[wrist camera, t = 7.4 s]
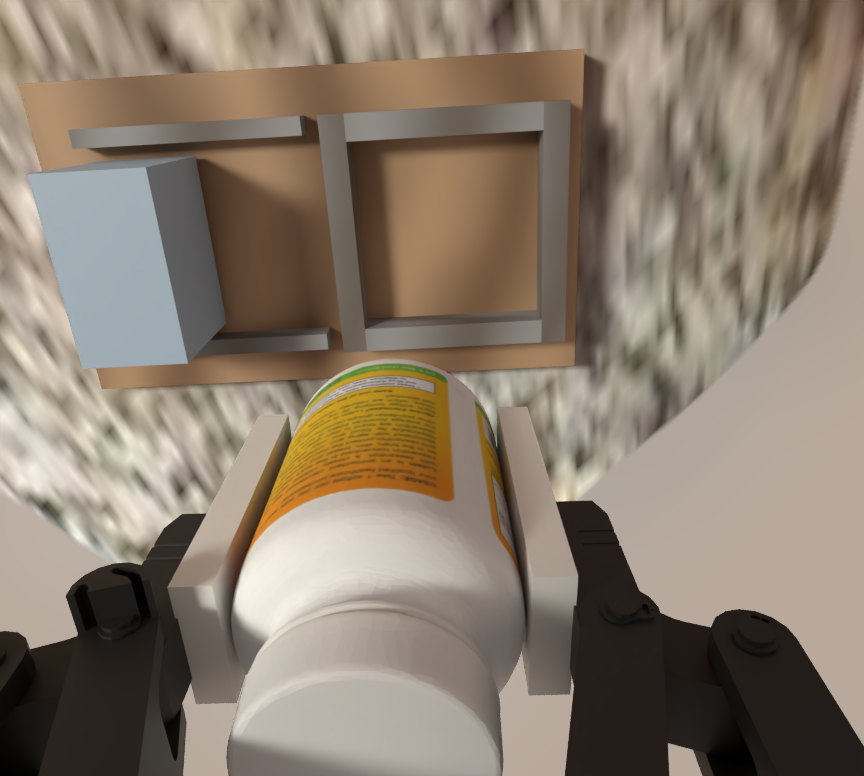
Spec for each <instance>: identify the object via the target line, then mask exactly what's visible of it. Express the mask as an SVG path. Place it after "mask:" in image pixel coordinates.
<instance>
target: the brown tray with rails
mask: <svg viewBox="0 0 864 776" xmlns="http://www.w3.org/2000/svg"><path fill="white" fill-rule="evenodd" d="M583 78H584V49H573V50H557V51H541V52H525V53H509V54H493V55H476V56H460V57H444V58H428V59H412V60H396V61H380V62H364V63H348V64H331V65H315V66H299V67H283V68H267V69H251V70H235V71H219V72H202V73H186V74H170V75H154V76H138V77H122V78H106V79H90V80H74V81H57V82H41V83H25V84H18V85H19V89H20V92H21V96H22V100H23V103H24V107H25V111H26V114H27V118H28V122H29V125H30V129H31V132H32V136H33V140H34V143H35V147H36V151H37V154H38V158H39V162H40V165H41V169H42V172H43V171H48V170H54V169H60V168H65V167H71V166H76V165H82V164H87V163H93V162H101V161H118V160H135V159H152V158H169V157H186V156H196V161H197V167H198V172H199V177H200V183H201V188H202V194H203V199H204V204H205V210H206V215H207V221H208V226H209V231H210V237H211V242H212V247H213V253H214V258H215V264H216V269H217V274H218V280H219V285H220V290H221V296H222V301H223V307H224V312H225V317H226V324H225V325H224V326H223V327H222V328H221V329H220V330H219V331H218V332H217V333H216V334H215V335H214V336H213V337H212V339H211V340H210V341H209V342H208V343H207V344H206V345H205V346H204V347H203V348H202V349H201V350H200V351H199V352H198V353H197V354H196V356H195V357H194V358H193V359H192V360H191V361H190V362H189V363H188V364H169V365H149V366H129V367H109V368H96V369H97V373H98V376H99V380H100V384H101V387H102V389H115V388H135V387H155V386H175V385H195V384H215V383H235V382H255V381H275V380H295V379H316V378H333V377H335V376H336V375H338V374H339V373H341V372H343V371H344V370H346V369H348V368H350V367H353V366H355V365H358V364H361V363H364V362H368V361H373V360H380V359H406V360H413V361H418V362H422V363H426V364H429V365H432V366H434V367H437V368H439V369H441V370H443V371H445V372H456V371H476V370H496V369H516V368H536V367H556V366H574V363H575V332H576V300H577V268H578V237H579V205H580V173H581V142H582V110H583Z"/></svg>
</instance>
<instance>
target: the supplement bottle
mask: <svg viewBox="0 0 864 776" xmlns="http://www.w3.org/2000/svg"><path fill="white" fill-rule="evenodd" d="M525 623H526V617H525V604H524V594H523V587H522V582H521V577H520V571H519V565H518V560H517V555H516V550H515V545H514V539H513V534H512V528H511V523H510V516H509V511H508V506H507V501H506V495H505V490H504V485H503V479H502V473H501V468H500V463H499V457H498V451H497V446H496V442H495V437H494V433H493V430H492V427H491V424H490V421H489V418H488V416H487V414H486V412H485V410H484V408H483V406H482V405H481V403H480V402H479V400H478V399H477V397H476V396H475V395H474V394H473V393H472V391H471V390H470V389H469V388H467V387H466V386H465V385H464V384H463V383H462V382H461V381H459V380H458V379H457V378H455V377H454V376H452V375H451V374H449V373H447V372H445V371H443V370H441V369H439V368H437V367H434V366H432V365H429V364H426V363H422V362H418V361H413V360H406V359H380V360H373V361H368V362H364V363H361V364H358V365H355V366H353V367H350V368H348V369H346V370H344V371H343V372H341V373H339V374H338V375H336V376H335V377H333V378H332V379H330V380H329V381H328V382H327V383H325V384H324V385H323V386H322V387H321V388H320V389H319V390H318V391H317V392H316V393H315V395H314V396H313V397H312V399H311V400H310V402H309V403H308V405H307V406H306V408H305V410H304V412H303V414H302V416H301V418H300V420H299V422H298V424H297V427H296V429H295V432H294V434H293V437H292V439H291V442H290V445H289V448H288V450H287V453H286V455H285V458H284V461H283V463H282V466H281V468H280V471H279V473H278V476H277V479H276V481H275V484H274V487H273V489H272V492H271V494H270V497H269V499H268V502H267V504H266V507H265V509H264V512H263V515H262V517H261V520H260V522H259V525H258V527H257V529H256V532H255V534H254V537H253V539H252V542H251V544H250V547H249V550H248V552H247V555H246V557H245V560H244V562H243V565H242V568H241V571H240V575H239V578H238V581H237V584H236V588H235V592H234V597H233V602H232V611H231V628H232V636H233V641H234V645H235V649H236V653H237V656H238V659H239V662H240V664H241V666H242V668H243V670H244V671H245V673H246V675H247V677H246V679H245V682H244V685H243V689H242V692H241V696H240V700H239V704H238V707H237V711H236V715H235V718H234V722H233V726H232V729H231V733H230V736H229V740H228V746H227V768H228V774H229V776H502V772H503V750H502V735H501V722H500V701H499V693H500V692H501V690H502V689H503V688H504V686H505V685H506V683H507V682H508V680H509V678H510V676H511V674H512V672H513V670H514V668H515V666H516V664H517V662H518V659H519V657H520V654H521V650H522V646H523V642H524V635H525Z"/></svg>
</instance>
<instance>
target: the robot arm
mask: <svg viewBox="0 0 864 776" xmlns="http://www.w3.org/2000/svg"><path fill="white" fill-rule="evenodd" d="M291 439H292V438H291V430H290V423H289V416H288V414H280V415H259V416H258V418H257V420H256V422H255V424H254V426H253V428H252V430H251V431H250V433H249V435H248V437H247V439H246V441H245V443H244V445H243V446H242V448H241V450H240V452H239V454H238V456H237V458H236V460H235V461H234V463H233V465H232V467H231V469H230V471H229V473H228V475H227V476H226V478H225V480H224V482H223V484H222V486H221V488H220V490H219V492H218V493H217V495H216V497H215V499H214V501H213V503H212V505H211V507H210V508H209V510H208V512H207V514H182V515H180V516H179V517H178V518H177V519H175V520H174V521H173V522H172V523H170V524H169V525H168V526H167V527H165V528H164V529H163V531H162V533H161V534H160V536H159V538H158V539H157V541H156V543H155V544H154V548H152V549H151V551H150V552H149V554H148V556H147V557H146V558H147V559H146V561H144V562H143V564H142V565H138V564H133V563H116V564H111V565H108V566H105V567H101V568H98V569H96V570H94V571H92V572H90V573H88V574H86V575H84V576H83V577H82V578H80V579H79V580H78V581H77V582H76V583H75V584H73V585H72V587H71V588H70V590H69V592H68V593H67V595H66V598H67V601H68V604H69V607H70V610H71V613H72V616H73V620H74V622H75V626H76V629H77V632H78V636H77V637H74V638H71V639H68V640H65V641H61V642H57V643H53V644H49V645H45V646H41V647H38V648H34V649H30V648H29V645H28V643H27V640H26V638H25V637H23V636H22V635H21V634H19V633H17V632H7V631H3V632H0V776H183V767H184V752H185V736H186V718H185V713H184V709H183V705H182V702H183V700H184V698H185V695H186V693H187V690H188V688H189V685H190V683H191V685H192V689H193V693H194V697H195V701H196V704H204V703H205V704H207V703H208V704H209V703H237V700H238V697H239V694H240V691H241V688H242V685H243V681H244V678H245V675H246V673H245V671H244V670H243V668H242V666H241V664H240V662H239V659H238V656H237V653H236V649H235V645H234V641H233V636H232V628H231V611H232V602H233V597H234V592H235V588H236V584H237V581H238V578H239V575H240V571H241V568H242V565H243V562H244V560H245V557H246V555H247V552H248V550H249V547H250V544H251V542H252V539H253V537H254V534H255V532H256V529H257V527H258V525H259V522H260V520H261V517H262V515H263V512H264V509H265V507H266V504H267V502H268V499H269V497H270V494H271V492H272V489H273V487H274V484H275V481H276V479H277V476H278V473H279V471H280V468H281V466H282V463H283V461H284V458H285V455H286V453H287V450H288V448H289V445H290V442H291ZM497 451H498V457H499V463H500V468H501V473H502V479H503V485H504V490H505V495H506V501H507V506H508V511H509V516H510V523H511V528H512V534H513V539H514V545H515V550H516V555H517V560H518V565H519V571H520V577H521V582H522V587H523V594H524V604H525V617H526V623H525V635H524V642H523V646H522V655H523V661H524V668H525V674H526V680H527V686H528V693H529V695H558V694H570V689H571V675H572V679H573V683H574V693H573V702H572V712H571V722H570V731H569V741H568V750H567V761H566V770H565V776H669V762H668V743H671V744H674V745H678V746H681V747H685V748H689V749H693V751H694V753H695V756H696V759H697V762H698V765H699V767H700V770H701V773H702V775H703V776H864V746H863V744H862V743H861V741H860V740H859V738H858V736H857V735H856V733H855V731H854V730H853V728H852V727H851V725H850V724H849V722H848V720H847V719H846V717H845V715H844V714H843V712H842V711H841V709H840V707H839V706H838V704H837V703H836V701H835V699H834V698H833V696H832V694H831V693H830V691H829V690H828V688H827V686H826V685H825V683H824V682H823V680H822V679H821V677H820V675H819V674H818V672H817V670H816V669H815V667H814V666H813V664H812V662H811V661H810V659H809V658H808V656H807V654H806V653H805V651H804V649H803V648H802V646H801V645H800V643H799V641H798V640H797V639H796V637H795V636H794V635H793V634H792V633H791V632H790V630H789V629H788V628H787V627H786V626H784V625H783V624H781V623H780V622H778V621H777V620H775V619H774V618H772V617H769V616H766V615H764V614H761V613H758V612H756V611H749V610H740V609H738V610H731V611H725V612H724V613H722V614H720V615H719V616H717V617H716V618H715V620H714V622H713V624H712V626H711V627H706V626H701V625H697V624H692V623H687V622H683V621H680V620H676V619H673V618H671V617H668V616H666V615H664V614H662V613H660V611H659V608H658V606H657V605H656V604H655V603H654V601H653V600H651V598H650V597H649V596H647V595H645V594H643V593H642V592H640V591H639V589H638V587H637V584H636V582H635V579H634V577H633V575H632V572H631V570H630V567H629V565H628V563H627V560H626V558H625V556H624V553H623V551H622V548H621V546H619V541H618V539H617V536H616V534H615V533H614V529H613V527H612V524H611V522H610V520H609V517H608V515H607V513H605V512H604V511H603V510H602V509H601V508H600V507H599V506H597V505H596V504H595V503H594V502H593V501H565V502H556V501H555V497H554V494H553V491H552V488H551V484H550V481H549V478H548V474H547V471H546V468H545V465H544V461H543V458H542V455H541V451H540V448H539V445H538V442H537V438H536V435H535V432H534V428H533V425H532V422H531V418H530V415H529V412H528V409H527V407H506V408H498V416H497Z"/></svg>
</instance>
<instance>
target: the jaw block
mask: <svg viewBox="0 0 864 776" xmlns="http://www.w3.org/2000/svg"><path fill="white" fill-rule="evenodd" d="M28 178H29V182H30V185H31V189H32V192H33V196H34V199H35V203H36V206H37V210H38V213H39V217H40V220H41V224H42V227H43V231H44V234H45V238H46V241H47V245H48V249H49V252H50V256H51V259H52V263H53V266H54V270H55V273H56V277H57V280H58V284H59V287H60V291H61V294H62V298H63V301H64V305H65V308H66V312H67V316H68V319H69V323H70V326H71V330H72V333H73V337H74V340H75V344H76V347H77V351H78V354H79V358H80V361H81V365H82V368H83V369H90V368H109V367H129V366H149V365H169V364H188V363H189V362H190V361H191V360H192V359H193V358H194V357H195V356H196V354H197V353H198V352H199V351H200V350H201V349H202V348H203V347H204V346H205V345H206V344H207V343H208V342H209V341H210V340H211V339H212V337H213V336H214V335H215V334H216V333H217V332H218V331H219V330H220V329H221V328H222V327H223V326H224V325H225V324H226V317H225V312H224V307H223V301H222V296H221V290H220V285H219V280H218V274H217V269H216V264H215V258H214V253H213V247H212V242H211V237H210V231H209V226H208V221H207V215H206V210H205V204H204V199H203V194H202V188H201V183H200V177H199V172H198V167H197V161H196V156H186V157H169V158H152V159H135V160H118V161H101V162H93V163H87V164H82V165H76V166H71V167H65V168H60V169H54V170H48V171H43V172H37V173H32V174H28Z"/></svg>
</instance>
